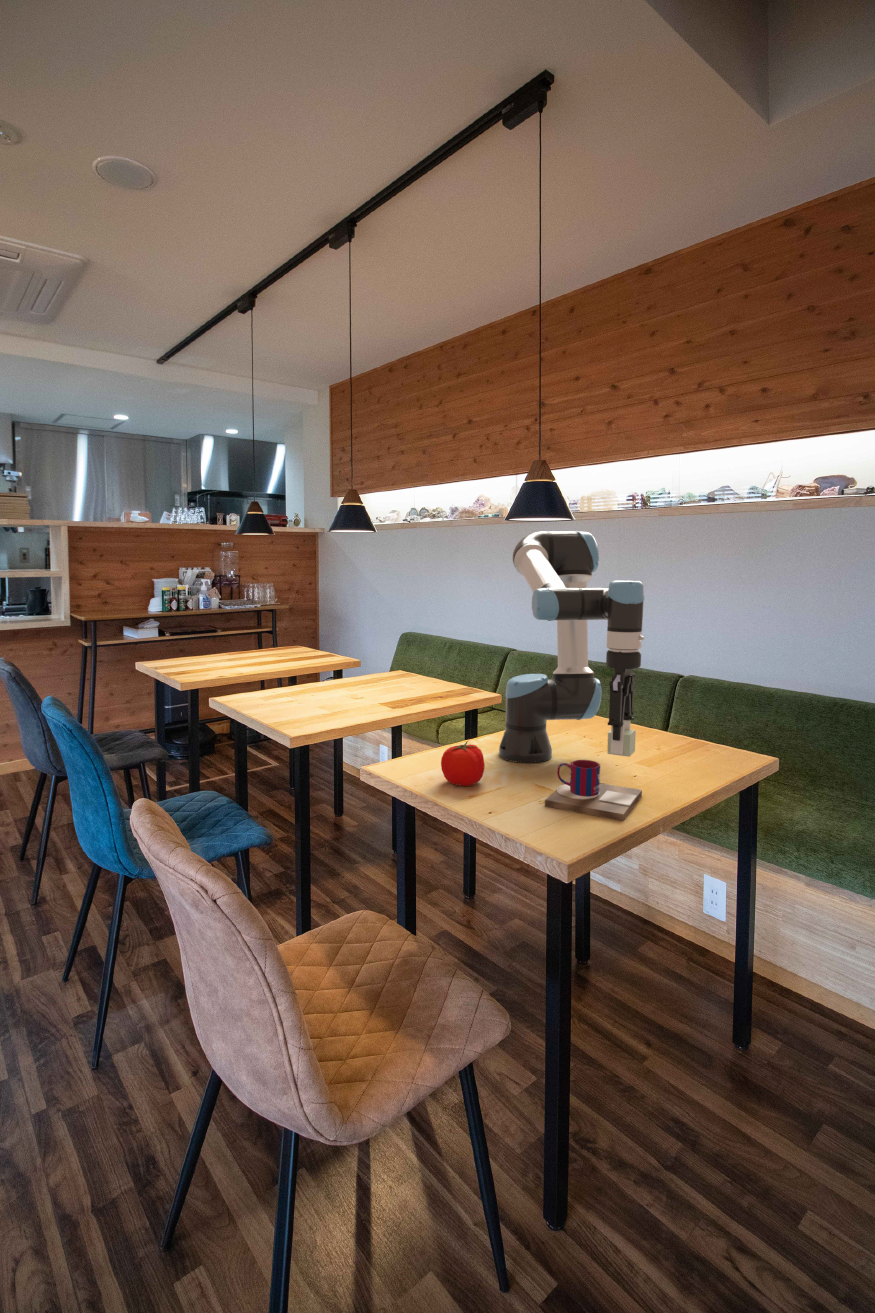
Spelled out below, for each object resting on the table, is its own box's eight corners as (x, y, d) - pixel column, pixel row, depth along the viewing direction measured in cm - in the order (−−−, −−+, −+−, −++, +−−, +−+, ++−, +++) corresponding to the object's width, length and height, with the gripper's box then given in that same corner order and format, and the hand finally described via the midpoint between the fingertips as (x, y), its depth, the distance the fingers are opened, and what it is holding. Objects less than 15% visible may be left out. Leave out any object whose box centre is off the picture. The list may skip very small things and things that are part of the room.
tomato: (477, 774, 178) (478, 736, 177) (489, 790, 166) (490, 750, 165) (436, 776, 177) (436, 738, 175) (445, 793, 164) (445, 752, 163)
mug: (593, 798, 155) (594, 770, 154) (552, 791, 160) (553, 763, 159) (602, 790, 161) (603, 762, 160) (563, 782, 166) (563, 756, 165)
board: (544, 806, 156) (545, 798, 155) (569, 783, 171) (569, 776, 170) (623, 820, 147) (623, 813, 146) (641, 796, 162) (642, 788, 162)
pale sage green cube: (629, 756, 151) (630, 735, 150) (607, 753, 153) (607, 732, 153) (635, 751, 155) (635, 730, 154) (613, 748, 158) (613, 727, 157)
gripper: (631, 655, 141) (626, 763, 145) (649, 646, 157) (645, 743, 160) (595, 653, 145) (592, 758, 148) (617, 644, 161) (614, 739, 164)
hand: (620, 750), depth 154 cm, fingers closed on pale sage green cube, 5 cm apart
